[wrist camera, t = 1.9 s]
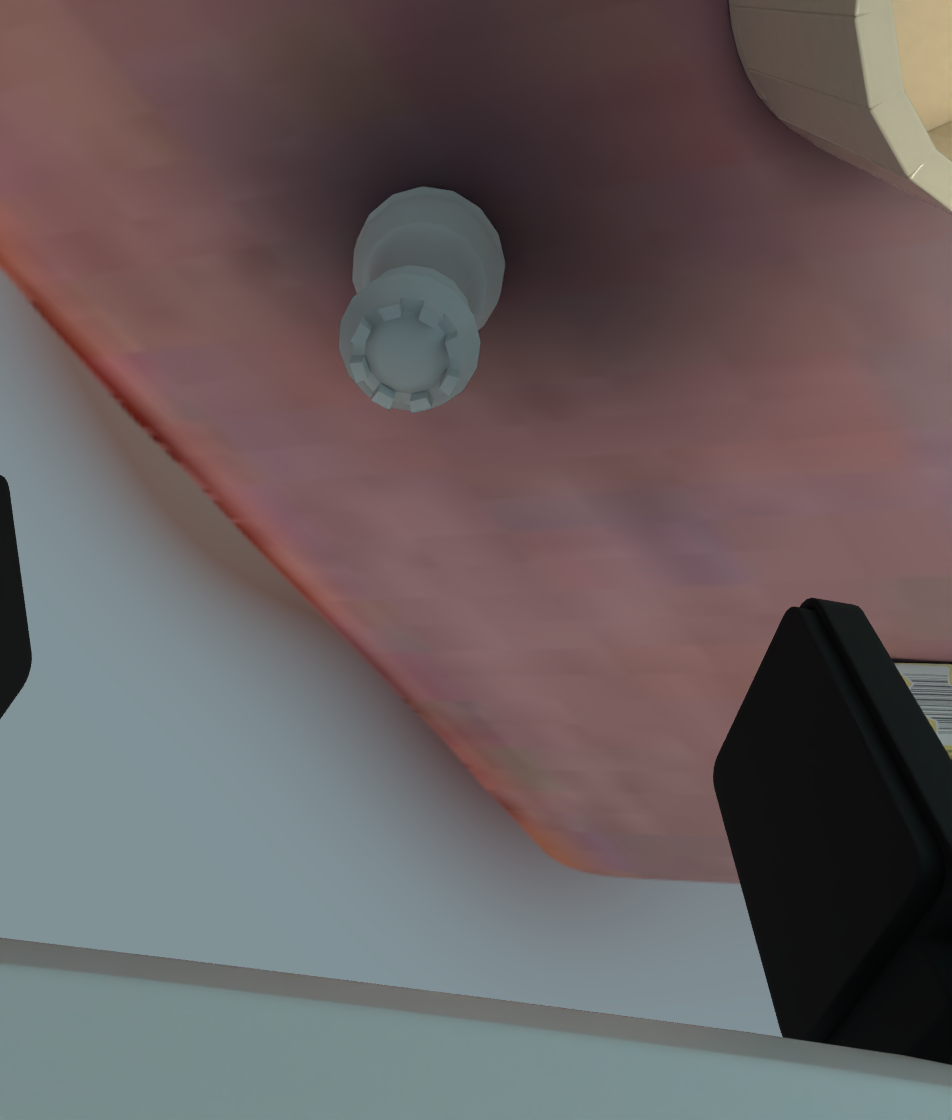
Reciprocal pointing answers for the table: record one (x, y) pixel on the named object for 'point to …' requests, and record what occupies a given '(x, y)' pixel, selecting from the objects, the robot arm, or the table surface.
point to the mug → (859, 82)
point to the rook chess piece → (420, 298)
